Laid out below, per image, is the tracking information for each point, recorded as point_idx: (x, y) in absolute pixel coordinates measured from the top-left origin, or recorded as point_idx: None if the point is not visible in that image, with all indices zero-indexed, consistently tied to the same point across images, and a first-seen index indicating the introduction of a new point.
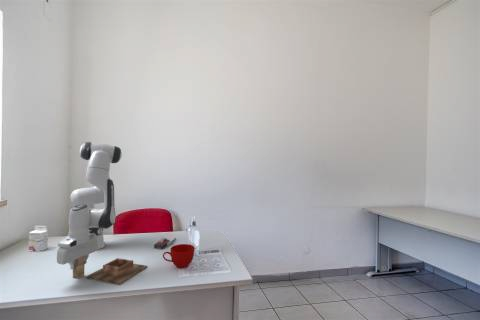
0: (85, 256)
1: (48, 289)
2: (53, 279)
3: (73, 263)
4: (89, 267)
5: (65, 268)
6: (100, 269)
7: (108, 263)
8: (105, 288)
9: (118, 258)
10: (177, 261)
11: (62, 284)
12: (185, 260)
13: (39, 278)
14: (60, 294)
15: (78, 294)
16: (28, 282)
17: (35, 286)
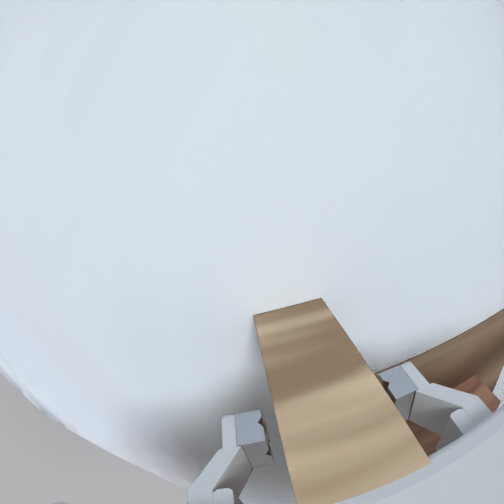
0: (440, 441)
1: (59, 350)
2: (124, 202)
3: (280, 431)
4: (444, 225)
5: (332, 37)
6: (421, 369)
7: (430, 451)
8: (271, 499)
9: (495, 408)
10: None
11: (143, 363)
12: None
13: (71, 73)
14: (107, 440)
15: (171, 482)
16: (6, 99)
17: (7, 224)
